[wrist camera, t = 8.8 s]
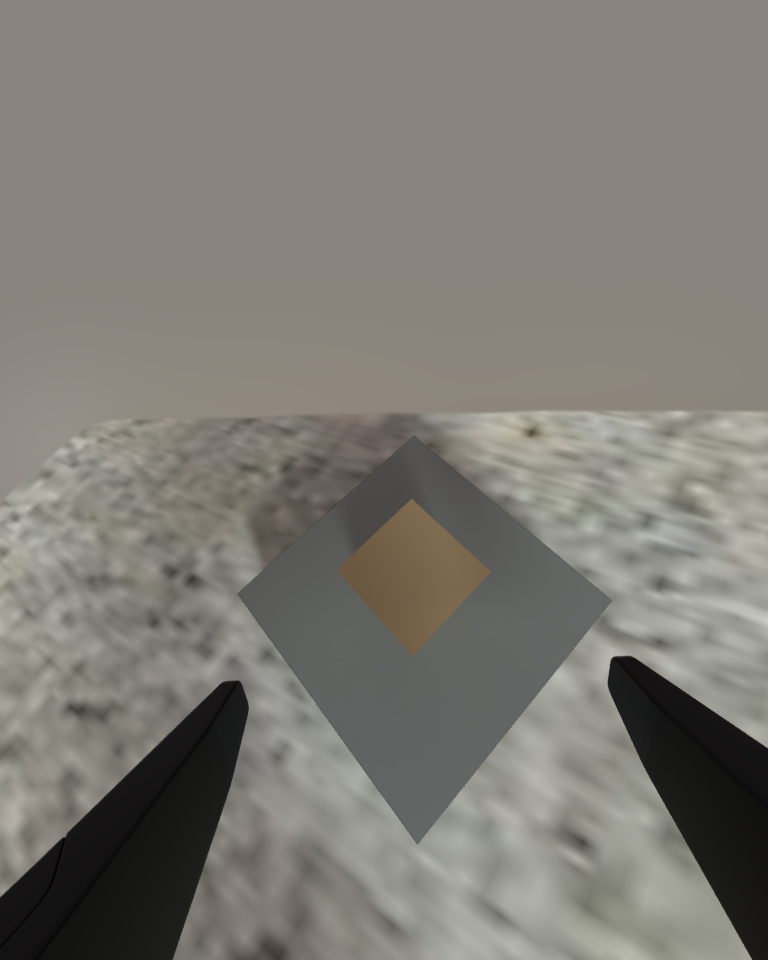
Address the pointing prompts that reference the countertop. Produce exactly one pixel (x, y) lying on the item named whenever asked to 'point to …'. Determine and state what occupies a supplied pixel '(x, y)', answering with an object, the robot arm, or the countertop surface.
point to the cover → (421, 625)
